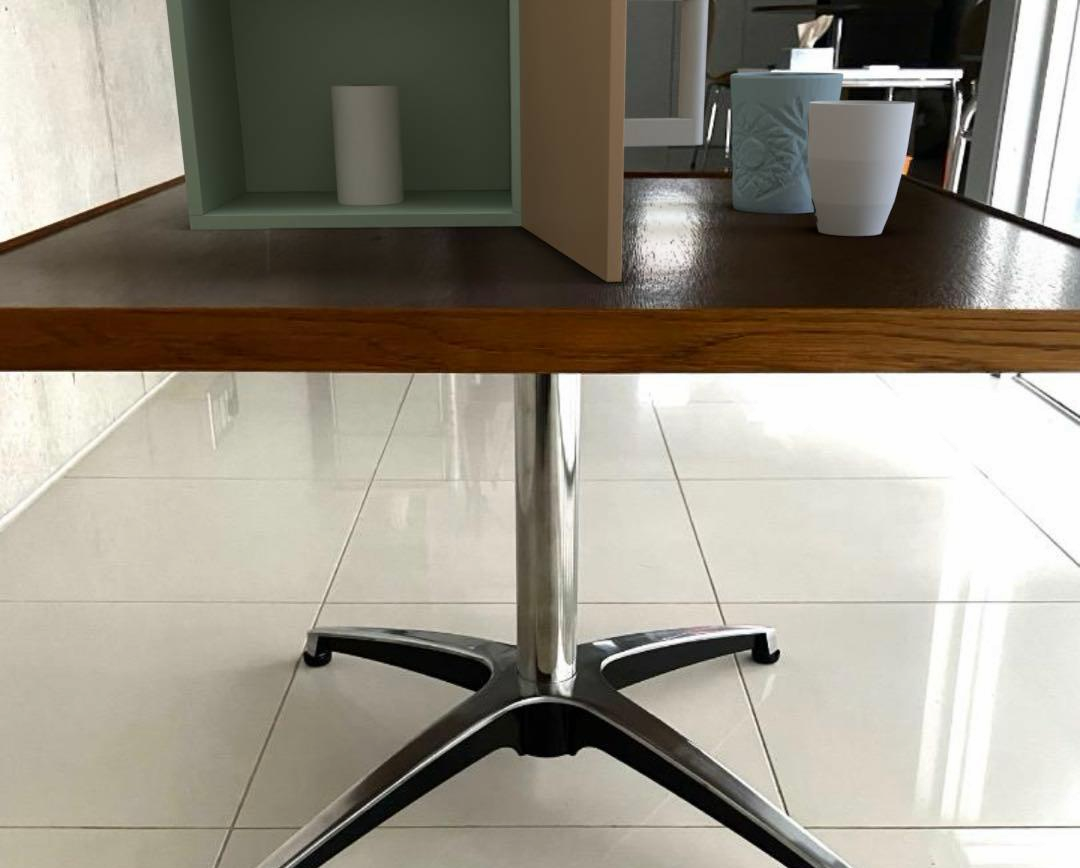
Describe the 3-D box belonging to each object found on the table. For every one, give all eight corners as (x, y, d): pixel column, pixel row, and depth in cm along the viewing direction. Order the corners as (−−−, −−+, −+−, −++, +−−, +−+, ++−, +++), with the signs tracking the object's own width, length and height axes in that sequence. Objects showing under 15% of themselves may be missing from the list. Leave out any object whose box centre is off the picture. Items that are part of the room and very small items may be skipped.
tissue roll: (358, 207, 107) (351, 85, 104) (326, 201, 112) (318, 84, 108) (416, 202, 111) (411, 84, 107) (382, 197, 115) (376, 83, 112)
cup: (848, 223, 105) (858, 99, 101) (922, 233, 99) (937, 102, 95) (778, 230, 101) (787, 102, 97) (852, 241, 95) (864, 104, 91)
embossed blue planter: (821, 202, 120) (831, 71, 116) (842, 214, 111) (855, 73, 106) (718, 202, 120) (724, 72, 116) (730, 215, 111) (738, 73, 106)
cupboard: (526, 227, 104) (523, -124, 94) (190, 230, 103) (152, -124, 93) (522, 201, 122) (519, -94, 113) (237, 203, 122) (210, -93, 112)
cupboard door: (599, 224, 104) (603, -121, 95) (708, 278, 78) (730, -189, 69) (521, 226, 103) (517, -123, 93) (606, 282, 77) (613, -193, 67)
